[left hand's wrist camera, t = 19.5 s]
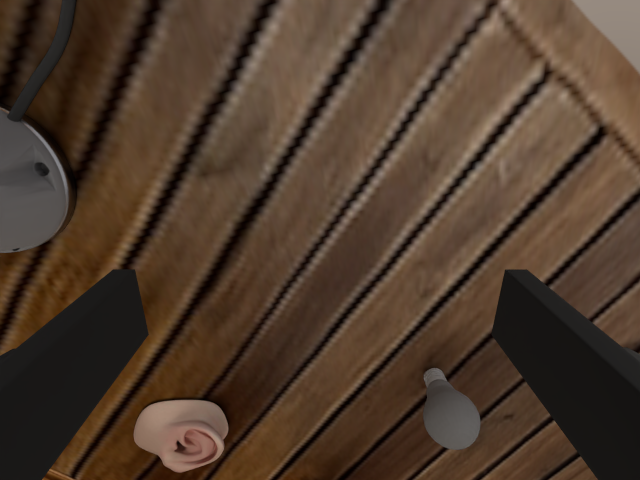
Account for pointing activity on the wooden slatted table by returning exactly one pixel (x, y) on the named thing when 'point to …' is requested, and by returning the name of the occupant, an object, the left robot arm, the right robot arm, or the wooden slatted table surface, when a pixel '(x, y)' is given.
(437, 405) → the light bulb
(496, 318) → the left robot arm
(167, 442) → the anatomical model
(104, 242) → the wooden slatted table surface
